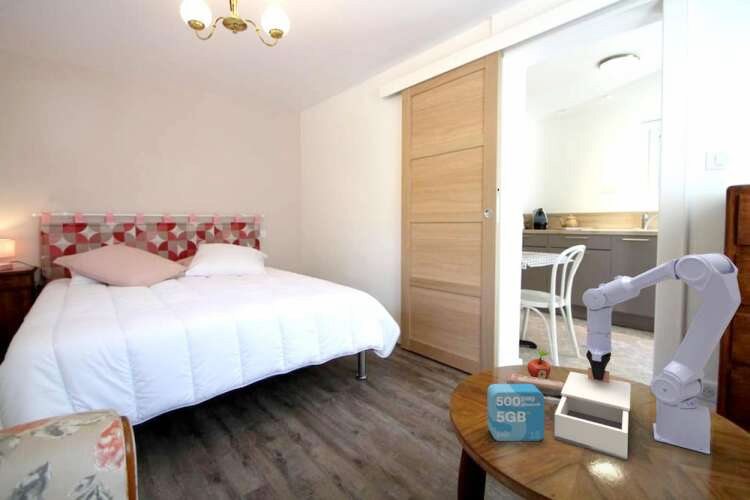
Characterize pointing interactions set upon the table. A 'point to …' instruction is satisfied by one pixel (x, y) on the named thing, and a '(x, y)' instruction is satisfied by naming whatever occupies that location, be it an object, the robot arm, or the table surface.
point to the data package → (515, 412)
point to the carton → (592, 426)
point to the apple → (539, 367)
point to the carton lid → (598, 390)
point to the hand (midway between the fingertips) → (598, 378)
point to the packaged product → (540, 386)
